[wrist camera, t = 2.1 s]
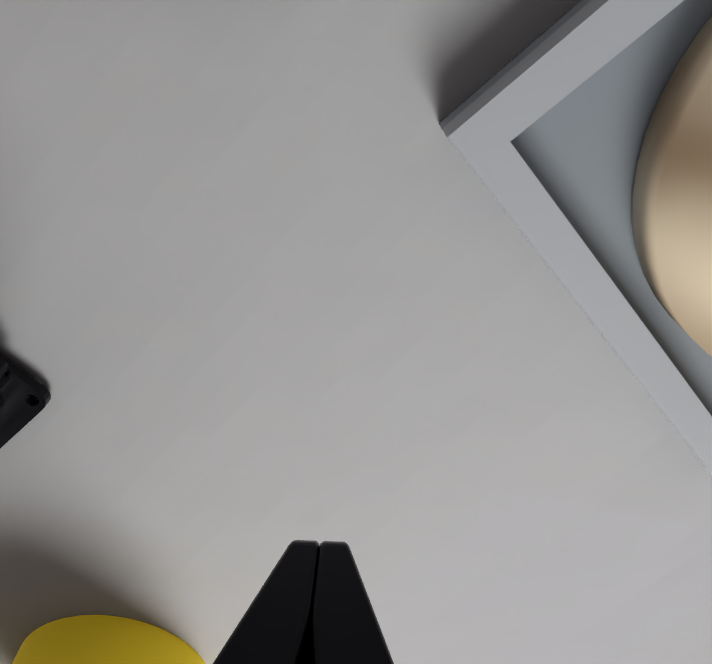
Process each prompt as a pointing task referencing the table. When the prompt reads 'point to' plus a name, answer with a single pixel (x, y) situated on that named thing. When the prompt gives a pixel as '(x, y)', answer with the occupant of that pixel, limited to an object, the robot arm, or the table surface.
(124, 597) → the table surface
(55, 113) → the table surface
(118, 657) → the tape roll
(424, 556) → the table surface
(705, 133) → the beige disc with bar
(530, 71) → the bezel plate
